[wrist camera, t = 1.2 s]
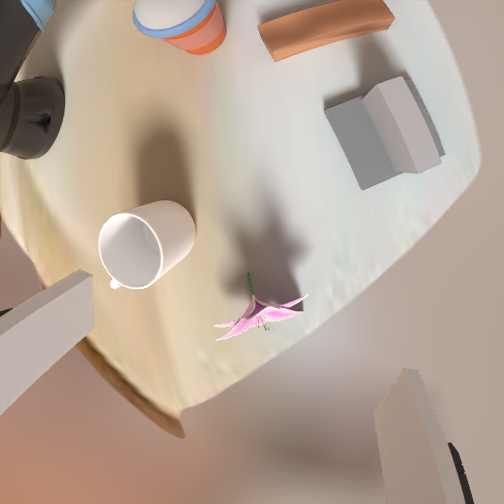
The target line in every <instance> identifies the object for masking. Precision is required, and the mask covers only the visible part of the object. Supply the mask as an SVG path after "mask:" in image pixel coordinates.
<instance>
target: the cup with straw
mask: <svg viewBox="0 0 504 504" xmlns="http://www.w3.org/2000/svg"><path fill="white" fill-rule="evenodd" d="M133 20H134V23H135V25H136V27H137V28H138V30H139V31H141V32H142V33H143V34H145V35H147V36H150V37H154V38H161V39H162V40H164V41H166V42H168V43H170V44H172V45H173V46H175V47H177V48H179V49H183V50H185V51H187V52H189V53H191V54H196V55H201V54H206V53H209V52H211V51H213V50H215V49H216V48H218V47H219V46H220V45H221V43H222V42H223V40H224V38H225V35H226V28H225V25H224V20H223V16H222V13H221V10H220V7H219V5H218V2H217V0H135V4H134V10H133Z"/></svg>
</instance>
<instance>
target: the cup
mask: <svg viewBox="0 0 504 504" xmlns="http://www.w3.org/2000/svg"><path fill="white" fill-rule="evenodd" d="M195 236H196V230H195V224H194V221H193V219H192V217H191V215H190V214H189V212H188V211H187V210H186V209H185V208H184V207H183V206H181V205H180V204H178V203H176V202H173V201H169V200H161V201H156V202H153V203H149V204H146V205H142V206H139V207H136V208H133V209H129V210H126V211H123V212H120V213H117V214H114V215H113V216H111V217H110V218H108V219H107V220H106V222H105V223H104V225H103V226H102V228H101V231H100V234H99V240H98V248H99V254H100V258H101V261H102V263H103V265H104V267H105V269H106V271H107V272H108V273H109V275H110V276H111V279H110V286H111V287H112V288H118V287H120V286H122V285H123V286H125V287H128V288H132V289H142V288H146V287H148V286H150V285H151V284H153V283H154V282H155V281H156V280H157V279H159V278H160V277H161V276H162V275H163V274H165V273H166V272H167V271H168V270H169V269H171V268H172V267H173V266H174V265H175V264H177V263H178V262H179V261H180V260H182V259H183V258H184V257H185V256H186V255H187V254H188V253H189V252H190V250H191V249H192V247H193V245H194V242H195Z"/></svg>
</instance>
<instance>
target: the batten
mask: <svg viewBox="0 0 504 504" xmlns="http://www.w3.org/2000/svg"><path fill="white" fill-rule="evenodd" d="M394 19H395V17H394V15H393V14H392V12H391V11H390V10H389V8H388V7H387V5H386V4H385V3H384V1H383V0H340V1H336V2H332V3H327V4H323V5H320V6H316V7H312V8H309V9H305V10H302V11H298V12H295V13H292V14H289V15H286V16H283V17H280V18H277V19H274V20H271V21H269V22H266V23H263V24H261V25H258V26H257V27H258V30H259V33H260V36H261V38H262V40H263V42H264V43H265V45H266V47H267V49H268V50H269V52H270V54H271V56H272V58H273V59H274V61H275V62H277V61H280V60H282V59H285V58H288V57H290V56H293V55H296V54H299V53H302V52H304V51H307V50H310V49H314V48H317V47H320V46H323V45H326V44H330V43H333V42H337V41H340V40H344V39H348V38H352V37H356V36H360V35H364V34H369V33H373V32H378V31H383V30H388V28H389V27H390V25H391V23H392V22H393V20H394Z"/></svg>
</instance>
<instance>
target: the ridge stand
mask: <svg viewBox="0 0 504 504" xmlns="http://www.w3.org/2000/svg"><path fill="white" fill-rule="evenodd" d="M324 113H325V115H326V117H327V119H328V121H329V122H330V124H331V126H332V128H333V130H334V132H335V134H336V136H337V138H338V140H339V142H340V144H341V146H342V148H343V150H344V152H345V155H346V157H347V159H348V161H349V163H350V165H351V168H352V170H353V172H354V174H355V176H356V179H357V181H358V183H359V186H360V188H361V189H362V190H365V189H367V188H370V187H372V186H374V185H376V184H379V183H381V182H383V181H386V180H388V179H390V178H392V177H395V176H397V175H399V174H402V173H404V172H405V173H415V174H419V173H421V172H423V171H426V170H428V169H430V168H432V167H435V166H437V165H439V164H441V163H442V162H441V159H440V157H441V156H443V155H445V152H444V150H443V147H442V144H441V142H440V139H439V137H438V134H437V132H436V130H435V127H434V125H433V123H432V121H431V118H430V116H429V114H428V112H427V110H426V108H425V105H424V103H423V101H422V99H421V97H420V95H419V93H418V91H417V89H416V88H415V86H414V84H413V82H412V80H411V79H408V80H404V78H403V76H400V77H397V78H394V79H391V80H388V81H385V82H382V83H379V84H376V85H375V86H374V88H373V89H372V90H371V91H370V92H369V93H367V94H364V95H362V96H359V97H357V98H354V99H351V100H349V101H346V102H344V103H341V104H339V105H336V106H334V107H331V108H329V109H327V110H325V112H324Z"/></svg>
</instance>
